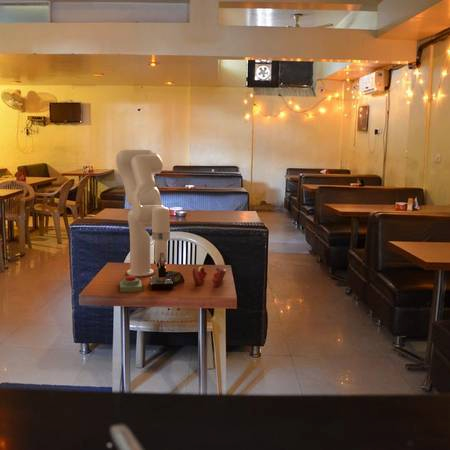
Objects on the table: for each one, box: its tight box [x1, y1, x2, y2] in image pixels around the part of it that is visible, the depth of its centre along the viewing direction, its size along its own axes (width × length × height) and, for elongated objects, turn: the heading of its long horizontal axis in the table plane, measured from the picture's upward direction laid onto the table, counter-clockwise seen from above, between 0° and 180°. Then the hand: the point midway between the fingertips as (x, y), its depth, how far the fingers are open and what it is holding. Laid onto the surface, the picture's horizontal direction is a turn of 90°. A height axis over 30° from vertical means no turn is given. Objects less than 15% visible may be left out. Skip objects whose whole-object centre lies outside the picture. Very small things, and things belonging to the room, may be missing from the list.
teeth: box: [192, 266, 227, 287], centre depth 232 cm, size 10×8×15 cm
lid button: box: [125, 275, 136, 281], centre depth 221 cm, size 4×4×2 cm
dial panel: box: [149, 276, 173, 292], centre depth 225 cm, size 11×9×3 cm
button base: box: [119, 277, 143, 293], centre depth 221 cm, size 10×9×4 cm
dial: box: [155, 266, 166, 281], centre depth 224 cm, size 4×4×6 cm
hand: (161, 274), depth 224 cm, fingers open, 9 cm apart
